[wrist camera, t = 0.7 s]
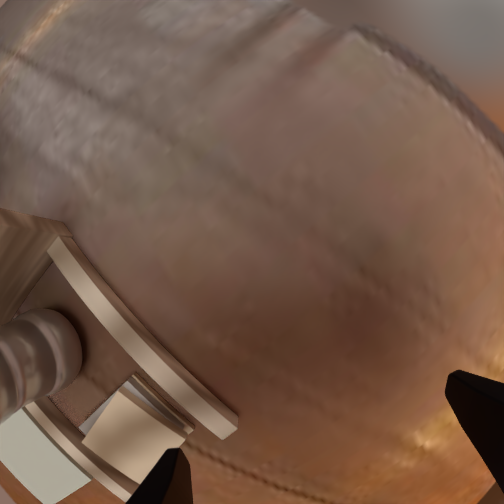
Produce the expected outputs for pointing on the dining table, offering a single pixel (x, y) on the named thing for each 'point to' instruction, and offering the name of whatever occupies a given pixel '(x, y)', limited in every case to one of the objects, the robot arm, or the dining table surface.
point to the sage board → (39, 459)
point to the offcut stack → (134, 429)
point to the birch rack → (112, 318)
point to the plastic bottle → (36, 358)
